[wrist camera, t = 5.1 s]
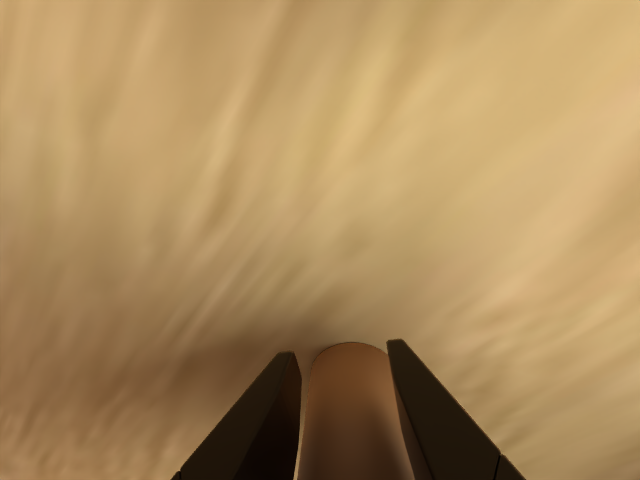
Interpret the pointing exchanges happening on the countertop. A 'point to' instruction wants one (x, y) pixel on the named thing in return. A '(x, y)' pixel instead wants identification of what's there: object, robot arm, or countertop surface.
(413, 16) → the countertop surface
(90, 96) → the countertop surface
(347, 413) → the tethered block
